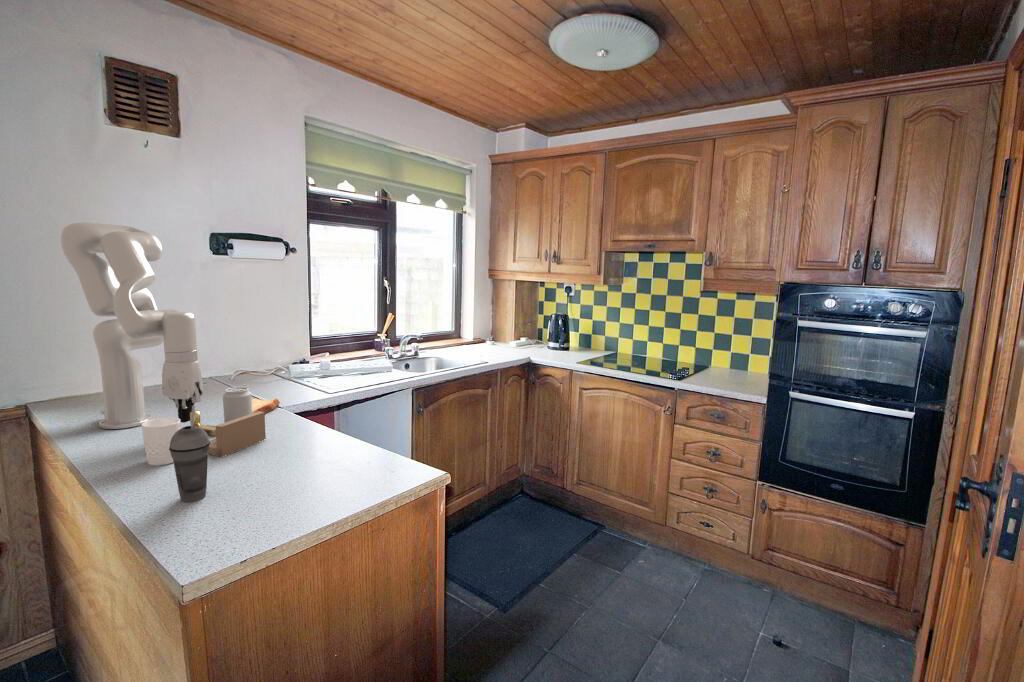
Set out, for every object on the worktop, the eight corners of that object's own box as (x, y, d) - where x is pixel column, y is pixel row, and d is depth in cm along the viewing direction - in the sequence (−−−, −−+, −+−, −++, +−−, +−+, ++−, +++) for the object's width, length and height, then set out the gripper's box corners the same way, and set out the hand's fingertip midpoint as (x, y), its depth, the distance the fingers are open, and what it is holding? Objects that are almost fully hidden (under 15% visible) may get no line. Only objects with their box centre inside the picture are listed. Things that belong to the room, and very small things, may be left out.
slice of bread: (235, 424, 153) (235, 413, 152) (217, 411, 165) (216, 400, 164) (294, 413, 166) (294, 403, 165) (273, 402, 178) (273, 392, 177)
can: (240, 432, 145) (238, 392, 143) (218, 430, 146) (216, 390, 145) (258, 424, 152) (256, 386, 150) (237, 422, 154) (235, 385, 152)
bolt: (188, 431, 138) (187, 412, 137) (196, 429, 140) (195, 410, 139) (214, 436, 135) (212, 416, 134) (221, 433, 137) (220, 413, 136)
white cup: (141, 468, 118) (138, 428, 117) (147, 457, 125) (144, 419, 124) (181, 463, 122) (178, 424, 120) (184, 452, 129) (182, 415, 127)
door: (149, 442, 135) (147, 414, 134) (196, 427, 148) (194, 401, 147) (223, 456, 127) (221, 426, 126) (265, 439, 140) (264, 412, 139)
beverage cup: (185, 489, 108) (179, 401, 105) (219, 489, 109) (214, 401, 106) (164, 505, 101) (157, 411, 98) (202, 505, 102) (196, 411, 99)
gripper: (148, 356, 135) (153, 421, 138) (189, 361, 131) (193, 428, 133) (174, 352, 142) (178, 414, 145) (214, 356, 138) (218, 420, 140)
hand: (186, 420), depth 139 cm, fingers closed
